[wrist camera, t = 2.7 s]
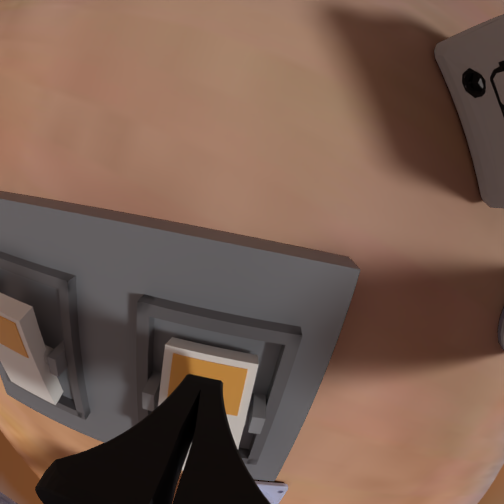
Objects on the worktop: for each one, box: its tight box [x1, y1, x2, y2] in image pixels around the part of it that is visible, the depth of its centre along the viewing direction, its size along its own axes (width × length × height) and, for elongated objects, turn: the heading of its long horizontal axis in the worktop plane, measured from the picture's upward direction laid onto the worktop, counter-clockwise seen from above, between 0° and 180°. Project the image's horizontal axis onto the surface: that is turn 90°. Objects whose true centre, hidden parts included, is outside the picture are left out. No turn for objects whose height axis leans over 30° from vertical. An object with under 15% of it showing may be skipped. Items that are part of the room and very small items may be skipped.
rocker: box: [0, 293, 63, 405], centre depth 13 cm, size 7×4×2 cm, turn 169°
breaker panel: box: [0, 191, 360, 481], centre depth 15 cm, size 16×22×4 cm
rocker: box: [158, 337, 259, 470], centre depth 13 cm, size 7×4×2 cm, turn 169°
